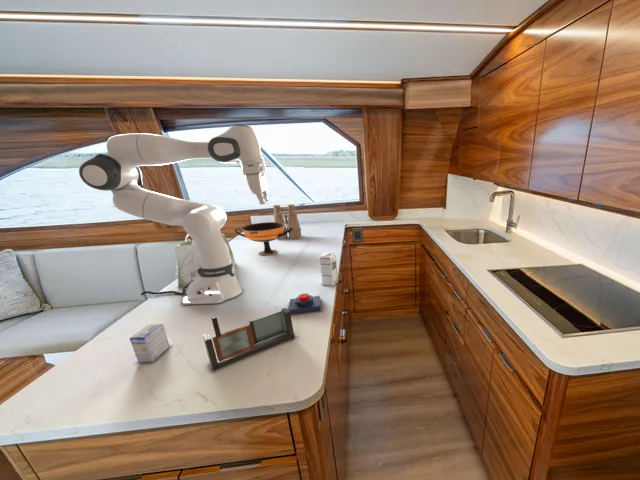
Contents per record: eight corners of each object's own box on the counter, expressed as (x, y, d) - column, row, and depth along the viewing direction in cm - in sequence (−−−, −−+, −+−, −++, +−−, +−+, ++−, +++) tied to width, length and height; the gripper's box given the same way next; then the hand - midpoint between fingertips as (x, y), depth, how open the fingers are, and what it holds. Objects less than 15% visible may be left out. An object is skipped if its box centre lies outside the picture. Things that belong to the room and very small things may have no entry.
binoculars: (303, 235, 236) (299, 203, 227) (300, 238, 226) (295, 205, 218) (277, 236, 235) (272, 204, 226) (272, 239, 225) (267, 206, 217)
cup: (301, 247, 205) (298, 221, 199) (288, 258, 181) (284, 230, 175) (249, 247, 205) (245, 222, 199) (230, 259, 181) (223, 231, 175)
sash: (219, 362, 85) (207, 320, 81) (218, 360, 86) (207, 318, 82) (255, 347, 92) (247, 308, 87) (254, 346, 92) (245, 306, 88)
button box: (288, 315, 114) (287, 305, 113) (290, 303, 124) (289, 295, 122) (320, 311, 117) (319, 302, 116) (320, 300, 126) (319, 291, 125)
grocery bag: (212, 264, 172) (202, 225, 164) (236, 264, 173) (228, 224, 165) (176, 287, 142) (163, 240, 134) (207, 285, 143) (195, 239, 135)
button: (298, 302, 117) (298, 298, 116) (299, 297, 121) (298, 294, 120) (309, 300, 118) (308, 296, 117) (309, 296, 121) (308, 292, 121)
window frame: (213, 370, 85) (205, 340, 81) (210, 364, 87) (202, 335, 84) (294, 338, 100) (290, 311, 96) (289, 333, 102) (285, 307, 99)
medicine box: (156, 347, 96) (148, 323, 93) (170, 346, 96) (163, 323, 93) (137, 363, 88) (128, 338, 85) (153, 362, 89) (144, 337, 86)
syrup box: (333, 285, 141) (330, 256, 136) (322, 285, 142) (319, 256, 137) (338, 281, 146) (335, 253, 141) (327, 280, 147) (324, 252, 142)
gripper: (251, 168, 128) (260, 200, 133) (240, 170, 110) (252, 207, 115) (266, 166, 130) (275, 198, 135) (258, 167, 111) (269, 204, 116)
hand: (264, 202), depth 125 cm, fingers open, 8 cm apart
